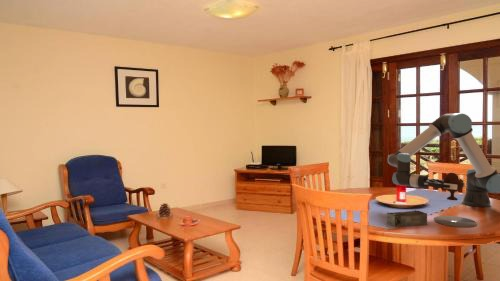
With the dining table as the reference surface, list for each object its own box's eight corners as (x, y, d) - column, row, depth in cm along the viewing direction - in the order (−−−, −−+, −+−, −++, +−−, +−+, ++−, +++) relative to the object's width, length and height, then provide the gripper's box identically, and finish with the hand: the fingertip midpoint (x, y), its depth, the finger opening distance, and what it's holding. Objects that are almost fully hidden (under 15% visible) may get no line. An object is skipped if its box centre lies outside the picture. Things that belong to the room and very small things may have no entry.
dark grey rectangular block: (386, 223, 194) (386, 211, 194) (418, 221, 198) (418, 209, 198) (394, 227, 186) (394, 214, 186) (428, 225, 190) (428, 212, 190)
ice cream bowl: (466, 201, 195) (467, 174, 195) (443, 200, 198) (444, 173, 197) (460, 198, 206) (461, 171, 205) (438, 196, 208) (439, 170, 208)
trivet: (470, 218, 202) (470, 217, 202) (482, 228, 183) (482, 227, 183) (430, 216, 207) (430, 214, 207) (437, 225, 188) (438, 224, 188)
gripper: (427, 185, 223) (467, 190, 206) (410, 189, 207) (452, 195, 191) (427, 172, 222) (468, 177, 206) (411, 176, 207) (453, 181, 190)
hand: (460, 186), depth 198 cm, fingers closed on ice cream bowl, 11 cm apart
